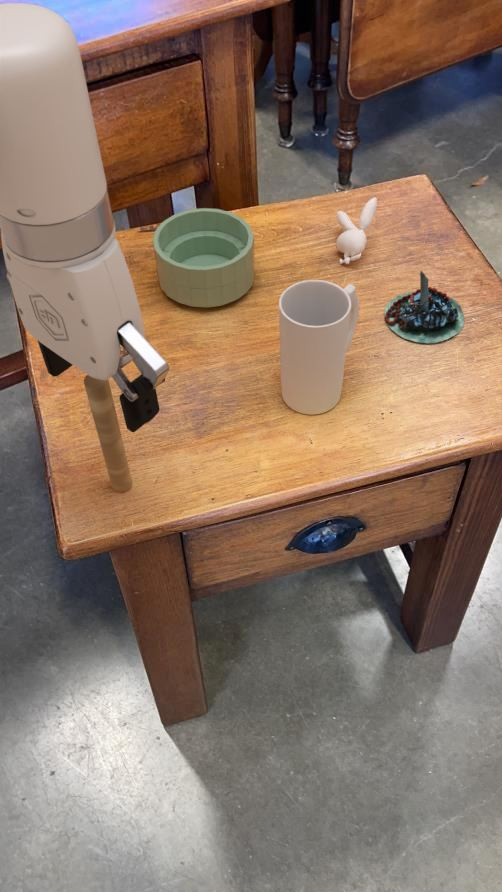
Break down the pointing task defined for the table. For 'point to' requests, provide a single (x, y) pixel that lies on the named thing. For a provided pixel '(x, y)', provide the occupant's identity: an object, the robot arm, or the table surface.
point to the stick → (108, 432)
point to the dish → (424, 314)
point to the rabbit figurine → (355, 232)
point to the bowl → (204, 257)
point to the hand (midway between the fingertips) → (103, 393)
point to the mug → (315, 343)
